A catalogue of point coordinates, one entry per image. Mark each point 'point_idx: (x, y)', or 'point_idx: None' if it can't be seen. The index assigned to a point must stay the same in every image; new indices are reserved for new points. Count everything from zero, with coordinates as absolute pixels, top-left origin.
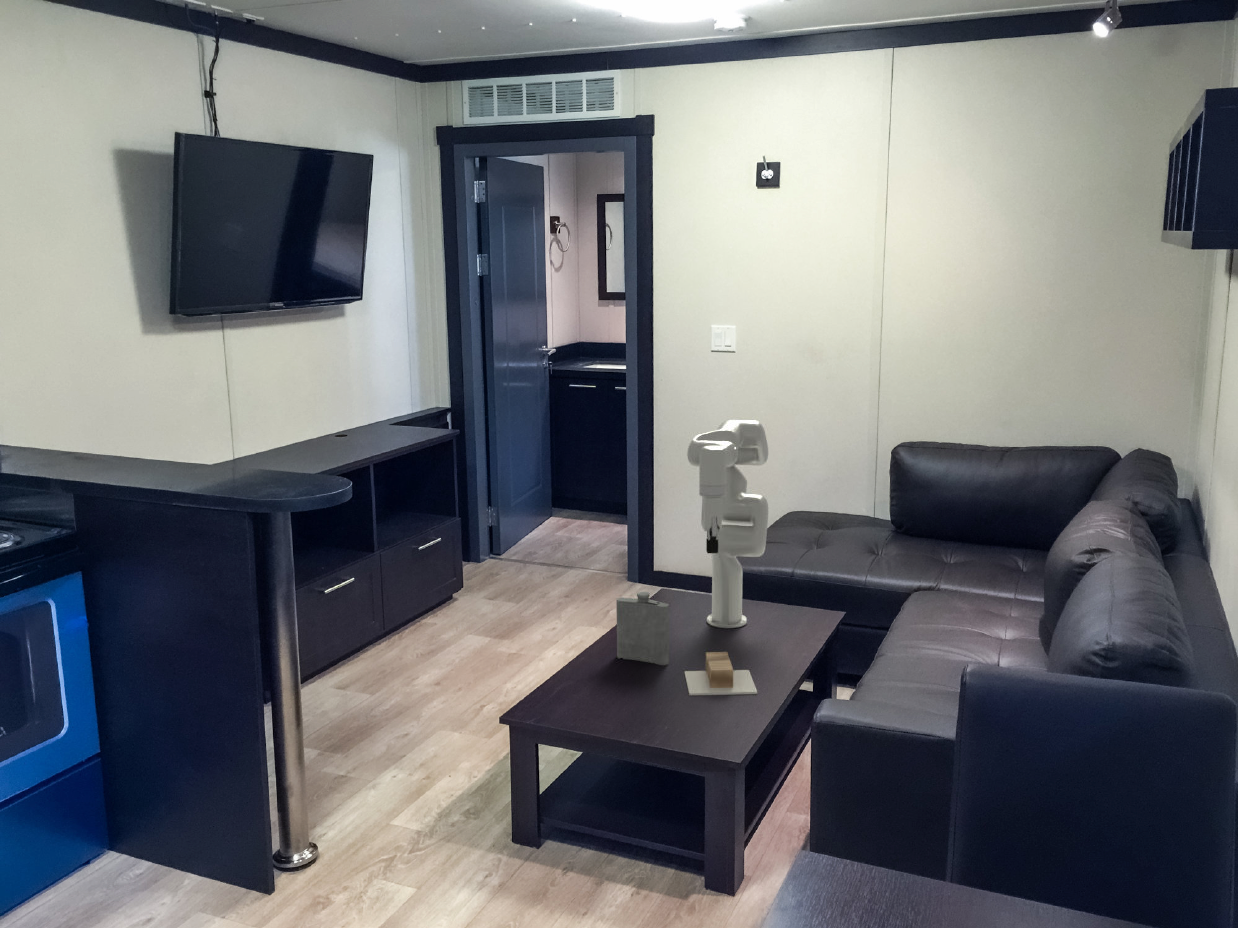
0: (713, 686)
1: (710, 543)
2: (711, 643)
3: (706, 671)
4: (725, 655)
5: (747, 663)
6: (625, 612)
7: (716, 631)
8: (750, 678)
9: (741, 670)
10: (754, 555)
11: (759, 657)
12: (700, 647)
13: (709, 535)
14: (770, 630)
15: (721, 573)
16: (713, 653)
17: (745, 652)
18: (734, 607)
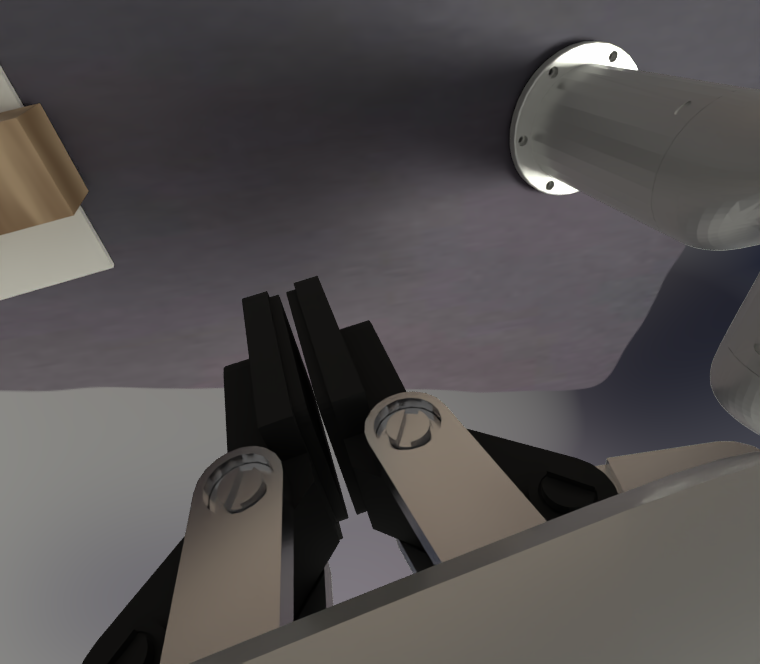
0: None
1: (229, 441)
2: (360, 88)
3: (2, 112)
4: (23, 215)
5: (194, 247)
6: None
7: (484, 93)
8: (31, 285)
9: (96, 244)
10: (716, 354)
11: (261, 274)
12: (309, 44)
13: (191, 583)
14: (491, 269)
15: (688, 157)
16: (21, 158)
17: (295, 225)
18: (568, 174)
